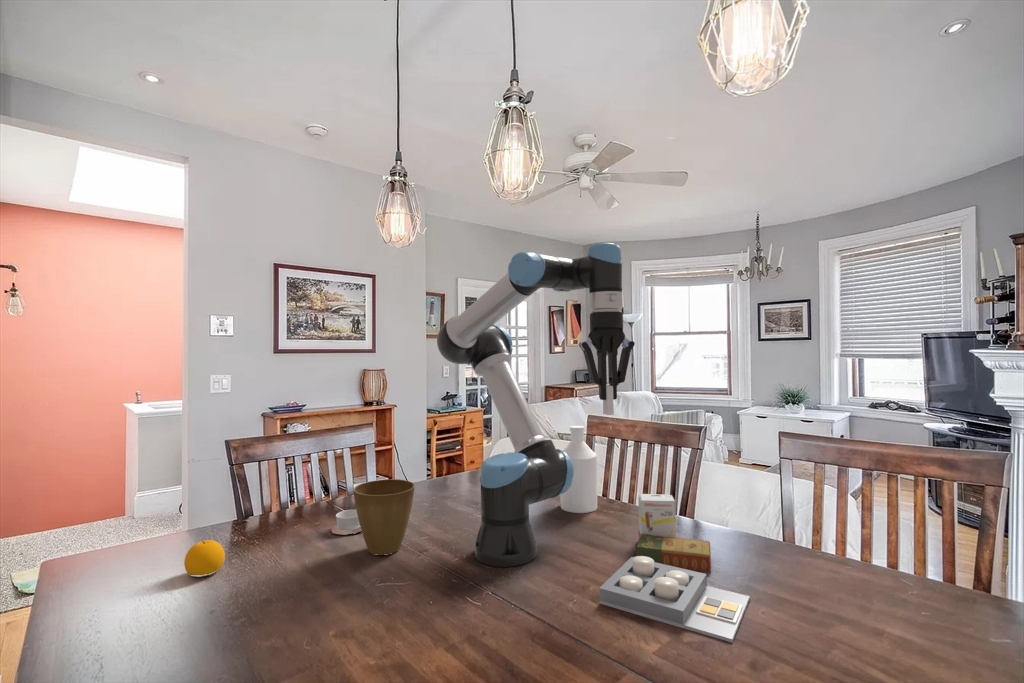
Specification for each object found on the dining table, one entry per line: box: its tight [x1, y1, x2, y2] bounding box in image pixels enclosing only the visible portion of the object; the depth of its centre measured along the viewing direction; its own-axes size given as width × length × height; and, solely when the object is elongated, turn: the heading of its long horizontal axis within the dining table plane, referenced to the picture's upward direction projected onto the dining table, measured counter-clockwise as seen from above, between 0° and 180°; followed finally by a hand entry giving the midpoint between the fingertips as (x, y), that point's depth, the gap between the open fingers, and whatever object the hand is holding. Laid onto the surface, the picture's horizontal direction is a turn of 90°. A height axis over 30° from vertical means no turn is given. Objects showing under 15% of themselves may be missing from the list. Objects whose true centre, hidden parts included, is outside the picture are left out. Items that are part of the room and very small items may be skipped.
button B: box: [632, 556, 654, 578], centre depth 104 cm, size 4×4×3 cm
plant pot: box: [352, 478, 415, 555], centre depth 125 cm, size 15×15×16 cm
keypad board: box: [599, 556, 751, 643], centre depth 97 cm, size 24×17×3 cm
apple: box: [183, 539, 226, 576], centre depth 113 cm, size 8×8×8 cm
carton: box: [635, 534, 712, 573], centre depth 116 cm, size 8×16×4 cm, turn 68°
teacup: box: [335, 509, 360, 530], centre depth 140 cm, size 10×10×5 cm
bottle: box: [559, 425, 598, 514], centre depth 156 cm, size 12×12×25 cm
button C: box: [654, 577, 679, 602], centre depth 95 cm, size 4×4×3 cm
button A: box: [620, 575, 643, 592], centre depth 99 cm, size 4×4×3 cm
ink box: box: [638, 493, 677, 541], centre depth 125 cm, size 9×5×12 cm, turn 83°
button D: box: [666, 570, 689, 587], centre depth 100 cm, size 4×4×3 cm
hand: (608, 413), depth 115 cm, fingers closed
